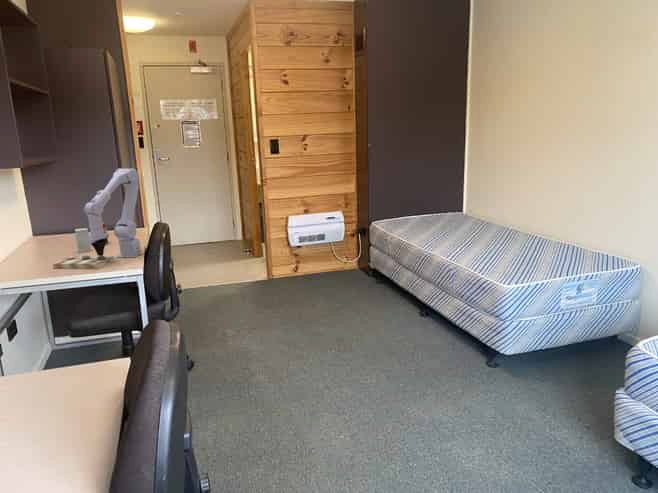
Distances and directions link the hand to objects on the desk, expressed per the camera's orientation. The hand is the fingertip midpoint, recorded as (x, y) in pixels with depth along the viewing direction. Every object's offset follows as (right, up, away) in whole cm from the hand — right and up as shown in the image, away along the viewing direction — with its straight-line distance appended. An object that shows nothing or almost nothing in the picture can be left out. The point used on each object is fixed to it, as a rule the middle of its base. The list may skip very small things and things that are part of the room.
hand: (100, 255), depth 231 cm
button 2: (0, -2, +1) cm, 2 cm away
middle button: (-8, -2, +2) cm, 8 cm away
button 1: (-16, -3, +3) cm, 16 cm away
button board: (-8, -5, 0) cm, 9 cm away
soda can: (-19, +5, +41) cm, 46 cm away
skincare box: (-21, +1, +27) cm, 34 cm away
